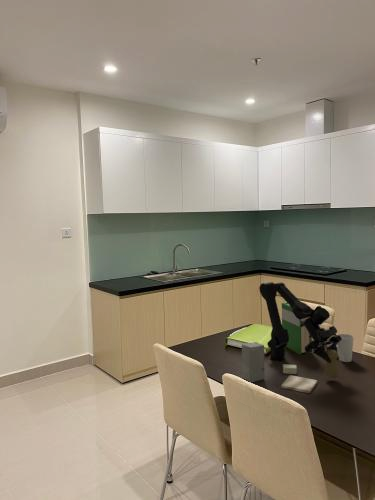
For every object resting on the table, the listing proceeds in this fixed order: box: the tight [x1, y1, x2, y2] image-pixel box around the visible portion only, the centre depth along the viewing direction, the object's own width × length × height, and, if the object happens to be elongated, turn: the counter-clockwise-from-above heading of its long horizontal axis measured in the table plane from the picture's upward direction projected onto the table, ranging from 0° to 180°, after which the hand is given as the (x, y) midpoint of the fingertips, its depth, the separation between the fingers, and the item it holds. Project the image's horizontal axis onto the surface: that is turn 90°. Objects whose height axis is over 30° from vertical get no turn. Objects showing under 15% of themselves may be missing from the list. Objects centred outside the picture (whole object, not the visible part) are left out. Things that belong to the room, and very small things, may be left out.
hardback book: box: [281, 301, 313, 355], centre depth 216 cm, size 18×7×24 cm, turn 17°
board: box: [280, 374, 318, 394], centre depth 171 cm, size 12×12×1 cm
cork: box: [323, 349, 340, 379], centre depth 174 cm, size 6×6×11 cm
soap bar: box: [282, 364, 297, 375], centre depth 185 cm, size 6×4×3 cm, turn 77°
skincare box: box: [241, 341, 265, 383], centre depth 179 cm, size 8×7×16 cm
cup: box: [337, 333, 355, 363], centre depth 198 cm, size 8×8×12 cm
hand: (334, 361), depth 173 cm, fingers closed on cork, 5 cm apart
